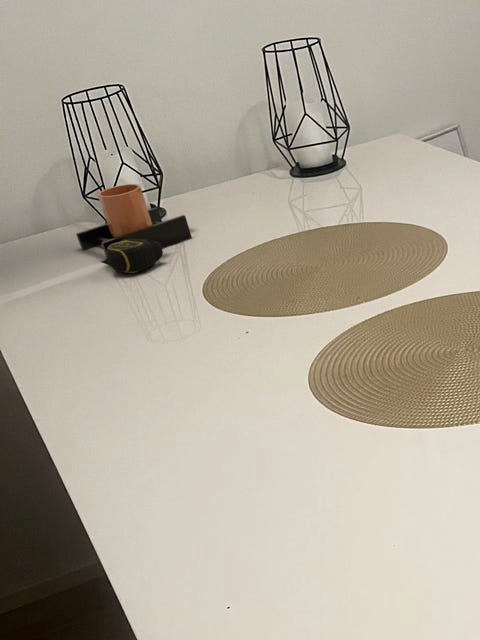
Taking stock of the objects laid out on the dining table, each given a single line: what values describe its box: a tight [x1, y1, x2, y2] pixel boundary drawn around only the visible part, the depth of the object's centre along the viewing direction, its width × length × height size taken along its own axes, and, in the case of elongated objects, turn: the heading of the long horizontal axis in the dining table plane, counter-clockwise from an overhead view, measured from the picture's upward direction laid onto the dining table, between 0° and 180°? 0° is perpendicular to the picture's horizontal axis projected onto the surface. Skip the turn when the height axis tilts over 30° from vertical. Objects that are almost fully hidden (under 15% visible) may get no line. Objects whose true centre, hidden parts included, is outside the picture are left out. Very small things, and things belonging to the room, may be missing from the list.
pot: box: [97, 183, 153, 238], centre depth 147 cm, size 6×7×6 cm
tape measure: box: [106, 239, 164, 274], centre depth 140 cm, size 7×7×4 cm
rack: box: [75, 207, 193, 266], centre depth 149 cm, size 14×10×3 cm
